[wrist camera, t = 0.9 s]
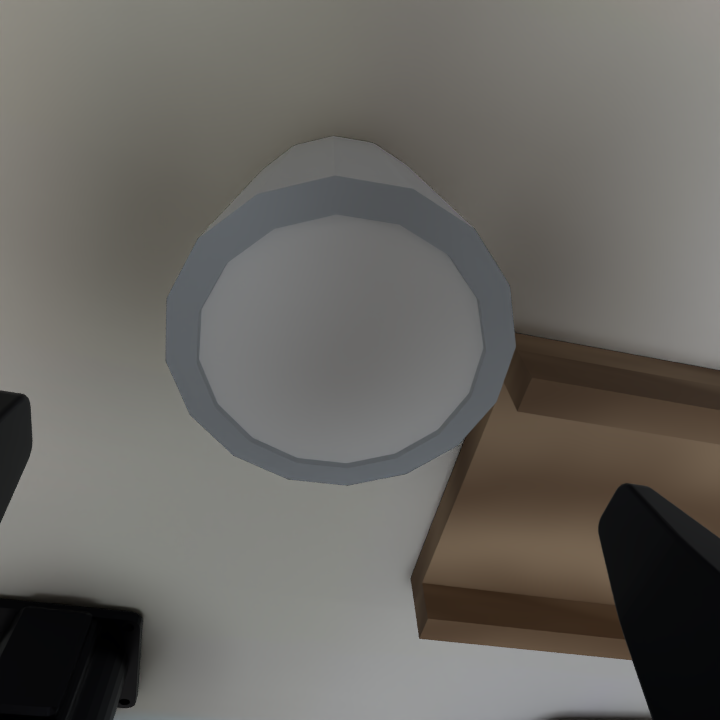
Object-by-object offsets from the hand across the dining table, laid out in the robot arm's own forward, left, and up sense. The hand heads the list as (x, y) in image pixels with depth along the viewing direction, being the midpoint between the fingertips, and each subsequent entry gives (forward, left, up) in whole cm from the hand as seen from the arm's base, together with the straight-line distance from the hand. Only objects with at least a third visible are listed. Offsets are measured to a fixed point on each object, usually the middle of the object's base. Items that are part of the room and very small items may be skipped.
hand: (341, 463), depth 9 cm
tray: (-8, -14, -10) cm, 19 cm away
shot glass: (0, 0, -10) cm, 10 cm away
